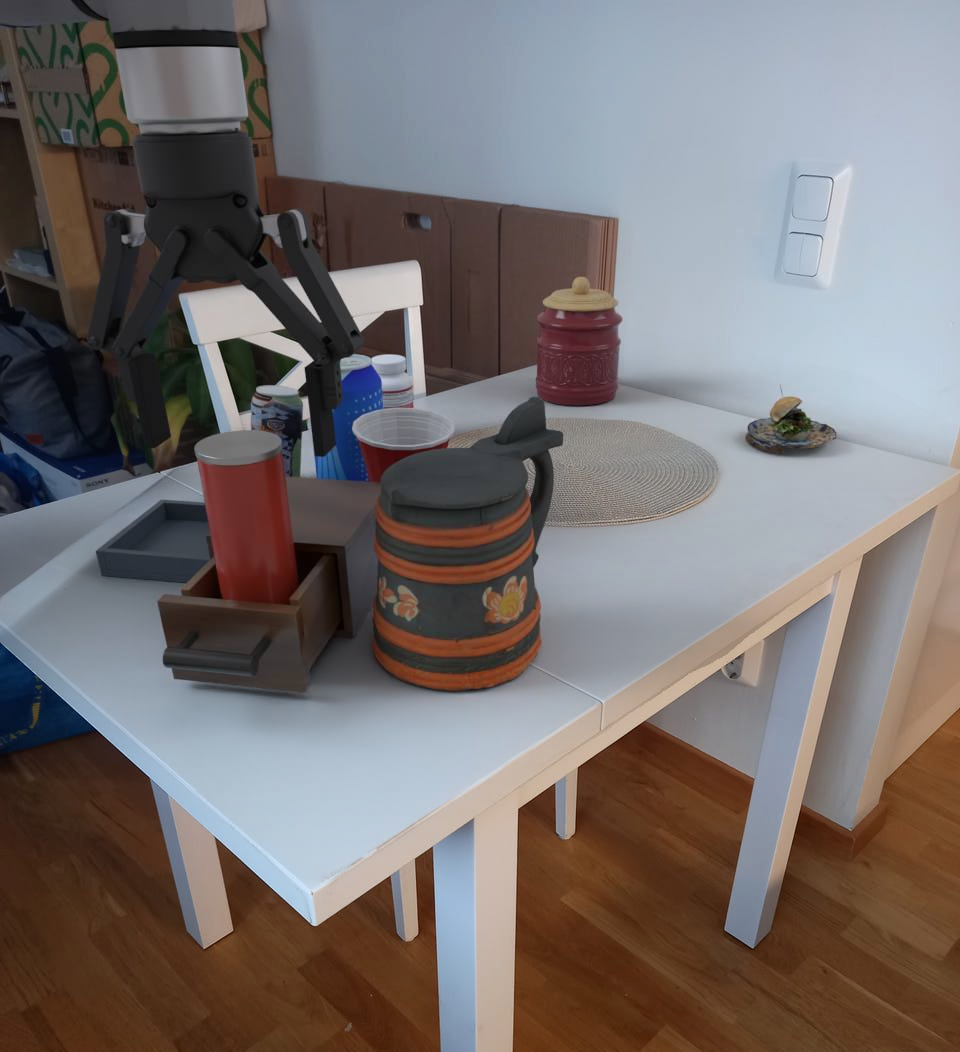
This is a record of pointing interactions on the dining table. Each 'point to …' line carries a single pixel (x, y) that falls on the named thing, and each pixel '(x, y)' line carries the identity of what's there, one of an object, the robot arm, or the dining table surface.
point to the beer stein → (463, 557)
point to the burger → (788, 429)
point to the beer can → (351, 420)
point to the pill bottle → (394, 381)
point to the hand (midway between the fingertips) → (240, 447)
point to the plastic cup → (399, 436)
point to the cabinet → (338, 537)
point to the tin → (249, 515)
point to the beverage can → (280, 421)
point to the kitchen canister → (578, 346)
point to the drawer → (252, 629)
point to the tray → (159, 544)
